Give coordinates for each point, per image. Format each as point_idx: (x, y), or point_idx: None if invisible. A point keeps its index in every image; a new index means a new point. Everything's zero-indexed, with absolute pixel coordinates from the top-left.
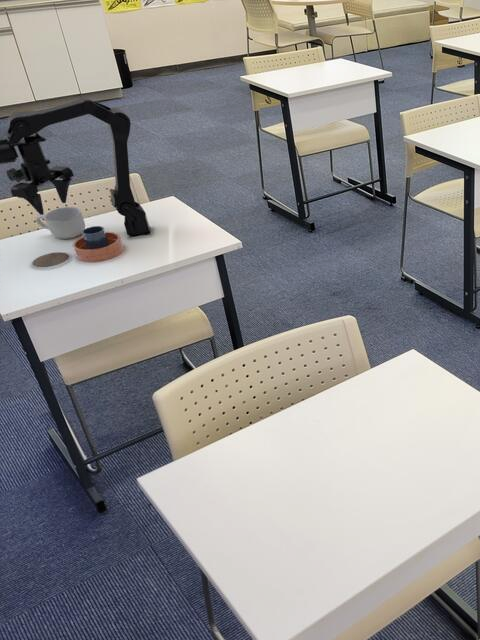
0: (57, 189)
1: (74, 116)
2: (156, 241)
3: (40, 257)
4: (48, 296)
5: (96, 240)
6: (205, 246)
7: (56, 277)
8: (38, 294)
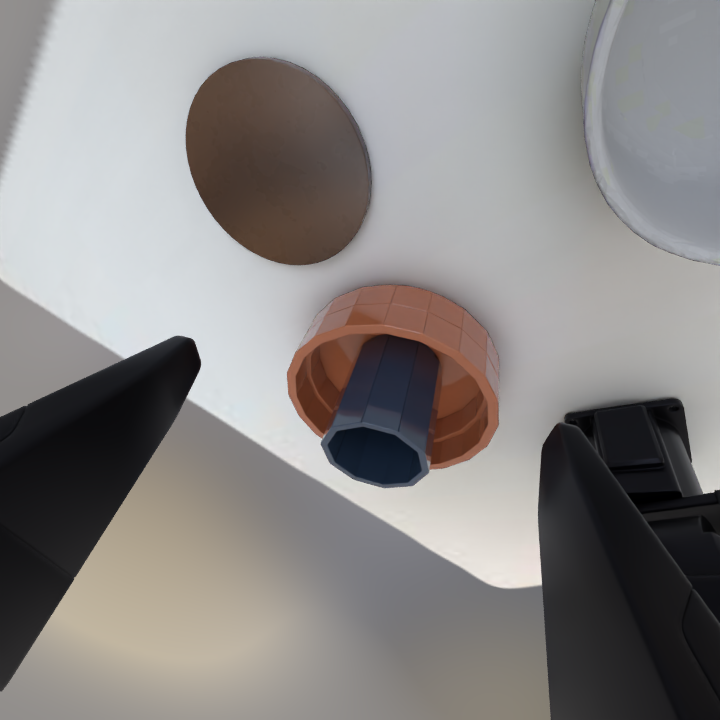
0: (625, 649)
1: None
2: (523, 483)
3: (276, 80)
4: (97, 325)
5: (347, 438)
6: (476, 559)
7: (183, 288)
8: (81, 291)
